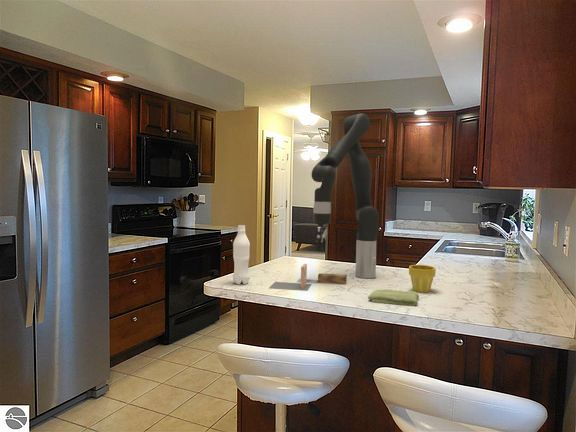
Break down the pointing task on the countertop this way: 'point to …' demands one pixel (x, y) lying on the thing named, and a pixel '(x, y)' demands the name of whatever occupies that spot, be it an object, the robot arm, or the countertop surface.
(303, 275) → the tile
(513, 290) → the countertop surface
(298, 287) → the slate mat
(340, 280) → the board
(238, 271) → the water bottle
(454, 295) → the countertop surface
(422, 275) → the plant pot
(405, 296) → the washcloth
